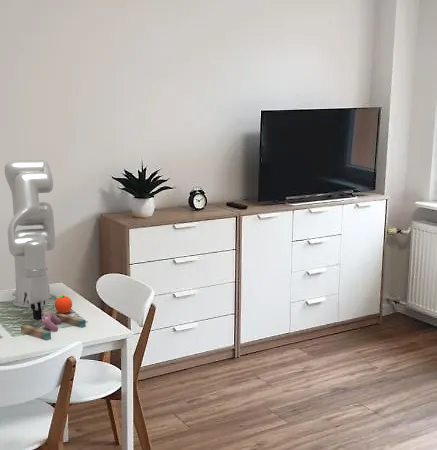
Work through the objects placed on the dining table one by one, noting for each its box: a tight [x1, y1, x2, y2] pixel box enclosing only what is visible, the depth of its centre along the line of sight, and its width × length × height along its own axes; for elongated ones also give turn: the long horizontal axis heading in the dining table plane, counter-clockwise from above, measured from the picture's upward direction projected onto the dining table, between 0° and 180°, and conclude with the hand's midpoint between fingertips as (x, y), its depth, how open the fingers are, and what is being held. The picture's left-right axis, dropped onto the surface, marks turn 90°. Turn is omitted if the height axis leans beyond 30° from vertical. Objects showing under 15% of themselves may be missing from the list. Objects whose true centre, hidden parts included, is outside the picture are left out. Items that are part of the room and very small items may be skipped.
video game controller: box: [41, 311, 62, 332], centre depth 258 cm, size 10×5×7 cm, turn 6°
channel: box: [20, 312, 87, 341], centre depth 257 cm, size 14×19×2 cm
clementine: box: [53, 295, 73, 314], centre depth 276 cm, size 8×7×7 cm
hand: (37, 319), depth 262 cm, fingers closed
